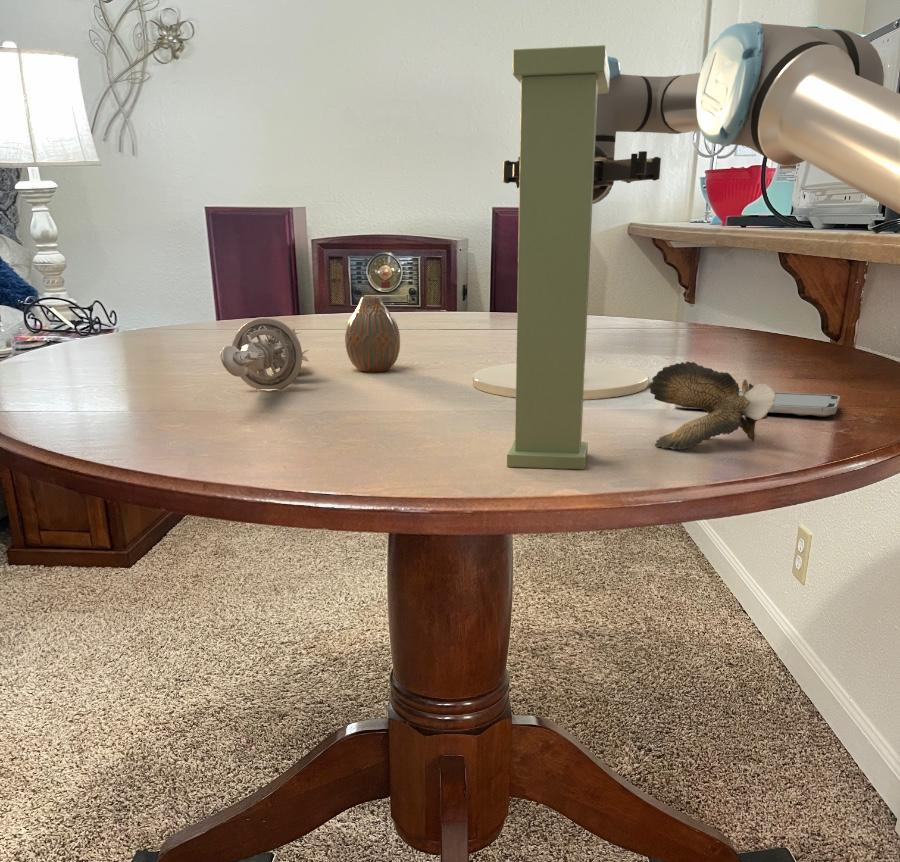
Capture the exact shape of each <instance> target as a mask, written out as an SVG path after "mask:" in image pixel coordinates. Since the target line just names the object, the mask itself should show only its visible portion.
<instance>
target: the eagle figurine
mask: <svg viewBox="0 0 900 862" xmlns="http://www.w3.org/2000/svg"><path fill="white" fill-rule="evenodd" d="M651 380H652V381H651V382H650V383H648V386H647V389H650V390H649V393H650V394H651V395H654V397H653V399H654V400H656V401H659V402H661V403H666V404H670V405H674V404H675V405H680V406H682V407H692V408H691V409H696V408H700V409H699V410H703V411H705V412H706V413H707V414H706V415H703V416H701V417H697V418H695V419H692V420H690V421H688V422H686V423H683V424H681V426H679V427H678V428H677V429H675V430H674V431H673V432H671V433H668V434H665V435H662V436H660V437H658V439H657V440H656V441H655V443H654V446H656V448H662V449H670V448H671V450H675V449H678V450H684V449H688V448H692V447H694V446H696V445H700V444H702V442H705V441H708V440H710V439H711V438H714V437H716V436H720V435H730V434H731V433H733V432H735V431H737V430H739V428H741V430H742V431H743V433H745V434H746V435H747V438H748V439H749V440H751V441H752V442H754V441H755V439H756V433H755V432H756V431H755V430H756V429H755V428H756V422H757V421H761V420H766V419H768V415H767V414H768V413H770V412H769V411H770V410H771V409H772V408H773V405H774V401H775V398H776V396H775V392H776V391H774V389H773V388H772V387H771V386H769V385H768V384H765V383H763V382H759V383H756V384H755V385H753V384H752V383H748V380H747V379H742V382H741V387H739V383H738V382H737V381H736V379H735V378H734V377H733V376H732V375H731V374H730V373H729V372H723V371H721V372H719V371H718V370H713V369H712V368H708V367H704V366H702V365H699V364H698V363H696V362H695V361H691V362H690V361H686V362H680V363H678V362H677V363H675V364H670V365H669V366H663V368H662V370H659V371H658V372H657V373H656V375H654V376H653V377H652V378H651ZM740 388H741V391H743V396H739V391H740Z"/></svg>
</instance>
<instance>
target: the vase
mask: <svg viewBox="0 0 900 862" xmlns="http://www.w3.org/2000/svg"><path fill="white" fill-rule="evenodd" d="M400 334H401V333H400V330H399V325H398V323H397V321H396V319H395V318H394V316H393V315H392V314H391V312H390V311H389V310H388V309H387V307H386V306H385V304H384V302H383V299H382V297H380V296H377V295H375V296H373V295H372V296H361V298H360V300H359V302H358V305H357V307H356V309H355V310H354V311H353V312H352V315H351V316H350V318H349V319H348V321H347V325H346V328H345V334H344V344H345V350H346V353H347V357H348V359H349V361H350V363H351V364H352V365H353V366H354V367H355V368H356V369H357V370H358V371H360V372H366V373H367V372H368V373H376V372H385V371H389V370H391V369H392V367H393V366H394V365H395V364H396V362H397V360H398V358H399V354H400V352H401V351H400V349H401V335H400Z"/></svg>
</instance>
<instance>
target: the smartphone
mask: <svg viewBox="0 0 900 862" xmlns="http://www.w3.org/2000/svg"><path fill="white" fill-rule="evenodd" d="M774 392H775V396H776V398H775V401H774V405H773V408H772V409H771V410H770V411H769V412H768V413H775V414H777V413H779V414H793V415H795V416H799V417H805V416H814V417H818V418H819V417H820V418H824V417H825V418H826V417H829V416H832V415H835V414H836V413H837V410H838V407H839V405H840V398H841V396H839V395H836V394H826V393H825V394H823V393H798V392H776V391H774ZM739 396H743V391H742V390H739ZM673 407H675V408H680V409H693V408H692V407H682V406H680V405H675V404H673ZM696 409H699V410H701V409H700V408H695V410H696Z"/></svg>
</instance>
